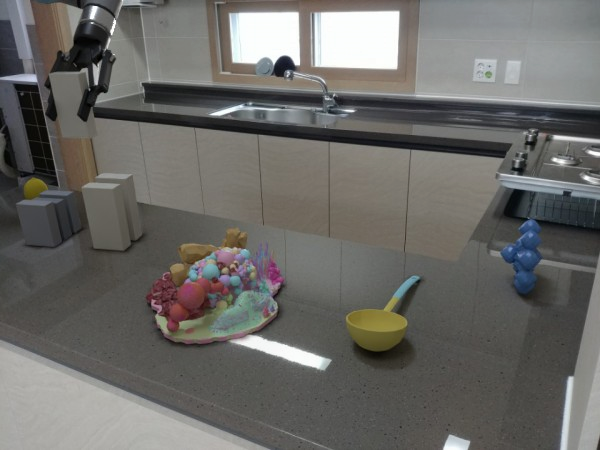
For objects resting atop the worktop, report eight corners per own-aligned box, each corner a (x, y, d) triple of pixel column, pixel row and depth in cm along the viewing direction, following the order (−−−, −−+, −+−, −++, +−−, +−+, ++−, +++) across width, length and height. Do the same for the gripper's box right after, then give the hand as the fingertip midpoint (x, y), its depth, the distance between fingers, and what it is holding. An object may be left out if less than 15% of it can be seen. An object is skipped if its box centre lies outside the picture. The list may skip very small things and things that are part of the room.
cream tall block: (70, 134, 123) (57, 71, 117) (97, 135, 121) (85, 71, 115) (62, 138, 120) (48, 73, 114) (90, 138, 118) (77, 73, 113)
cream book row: (113, 233, 119) (102, 172, 114) (142, 235, 118) (132, 174, 112) (93, 248, 112) (80, 185, 107) (123, 250, 111) (112, 186, 105)
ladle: (334, 353, 76) (336, 314, 75) (391, 301, 99) (393, 271, 98) (395, 367, 72) (398, 326, 71) (439, 309, 95) (441, 278, 94)
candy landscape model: (133, 285, 97) (125, 239, 93) (251, 254, 107) (248, 211, 104) (175, 359, 77) (167, 304, 73) (316, 312, 87) (315, 261, 84)
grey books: (54, 226, 124) (45, 188, 120) (81, 228, 122) (73, 189, 118) (26, 244, 115) (15, 203, 111) (54, 247, 113) (44, 205, 110)
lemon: (26, 207, 136) (19, 177, 133) (49, 202, 139) (42, 172, 135) (30, 213, 132) (22, 183, 128) (53, 208, 134) (47, 178, 131)
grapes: (496, 268, 99) (504, 207, 94) (536, 272, 97) (546, 211, 92) (495, 299, 89) (503, 233, 84) (539, 305, 87) (550, 238, 82)
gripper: (141, 43, 125) (116, 128, 117) (65, 44, 129) (36, 126, 121) (125, 19, 118) (98, 108, 110) (46, 21, 122) (14, 107, 114)
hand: (66, 118), depth 115 cm, fingers closed on cream tall block, 7 cm apart
